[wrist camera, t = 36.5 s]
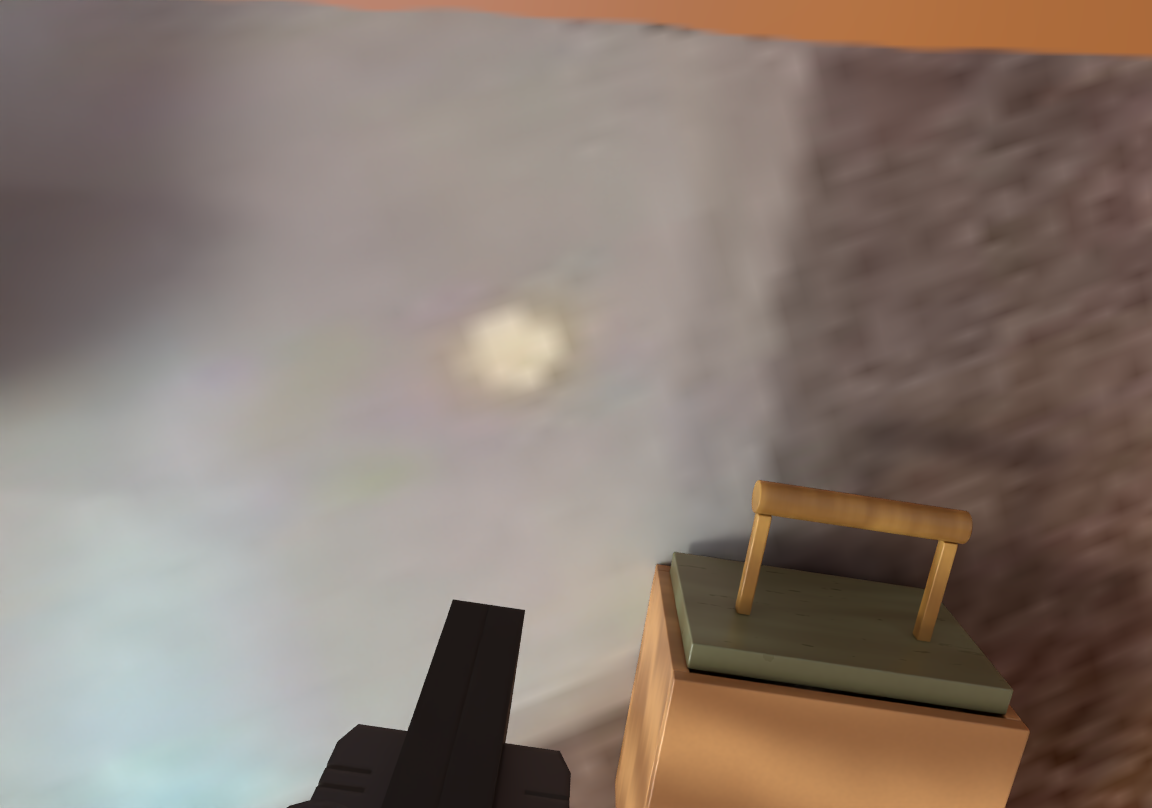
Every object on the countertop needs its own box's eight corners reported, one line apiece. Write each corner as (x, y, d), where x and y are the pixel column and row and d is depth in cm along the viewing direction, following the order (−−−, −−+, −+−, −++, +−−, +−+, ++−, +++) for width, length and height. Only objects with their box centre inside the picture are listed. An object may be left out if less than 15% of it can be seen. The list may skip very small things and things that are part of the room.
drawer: (695, 436, 41) (721, 502, 32) (964, 476, 41) (1059, 552, 32) (632, 760, 45) (640, 892, 37) (873, 795, 46) (935, 934, 37)
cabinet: (656, 563, 43) (673, 679, 33) (931, 604, 44) (1031, 731, 33) (614, 782, 47) (619, 946, 37) (870, 819, 47) (943, 992, 37)
